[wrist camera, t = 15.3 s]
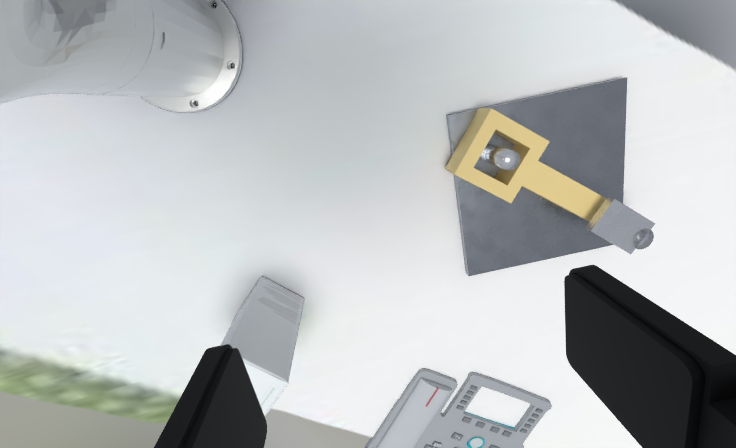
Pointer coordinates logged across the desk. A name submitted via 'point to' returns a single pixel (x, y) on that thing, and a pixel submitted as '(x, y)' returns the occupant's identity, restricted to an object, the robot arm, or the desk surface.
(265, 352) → the skincare box
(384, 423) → the office telephone
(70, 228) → the desk surface
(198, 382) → the robot arm
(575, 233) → the pintle plate
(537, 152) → the link
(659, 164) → the desk surface
